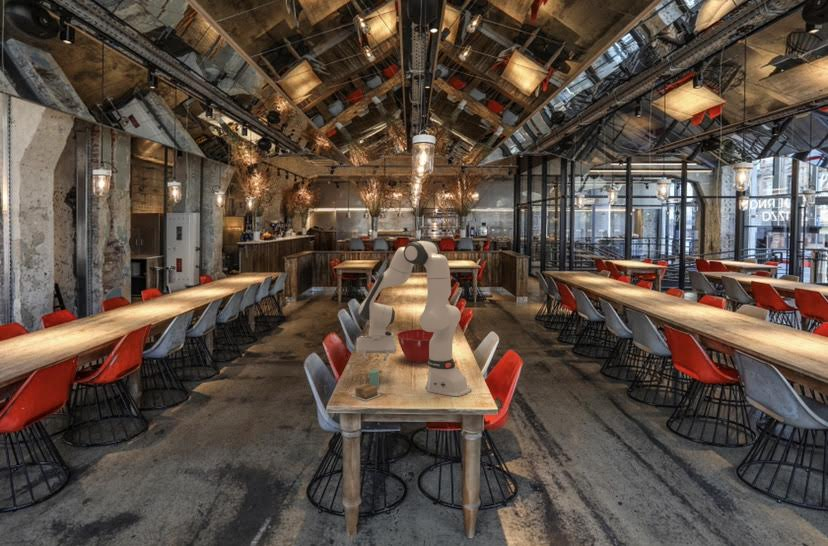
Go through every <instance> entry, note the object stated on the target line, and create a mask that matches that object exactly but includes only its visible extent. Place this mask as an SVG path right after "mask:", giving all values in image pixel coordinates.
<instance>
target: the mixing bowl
mask: <svg viewBox="0 0 828 546" xmlns="http://www.w3.org/2000/svg"><path fill="white" fill-rule="evenodd" d="M433 334H434V332H427V331H425V330H423V329H422V328H417V329H408V330H403V331H399V332H398V333H397V334H396V336H397V339H398V343H399V346H400V349H401V351H402V353H403V354H404V357H405V358H406V359H407V360H408V361H410V362H412V363H416V364H428V358H429V342H430V340H431V338H432V336H433Z"/></svg>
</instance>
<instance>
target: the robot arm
mask: <svg viewBox="0 0 828 546" xmlns="http://www.w3.org/2000/svg"><path fill="white" fill-rule="evenodd" d="M414 266H418V267H423V266H424V268H425V270H426V286H427V288H426V289H427V296H426V303H425V306H424V310H423V312H422V313H421V315H420V317H419V324H420V327H421V329H423V330H425V331H427V332H434V334H433V336H432V338H431V340H430V342H429V358H428V363H427V365H428V374H427V380H426V385H425V388H426V392H430V393H434V394H440V395H445V396H450V397H454V398H455V397H461V395H462V396H465V395H467V394H469V393H471V392H472V391H471V390H473V388H472V386H469V385H468V382H467V378H466V376H465V374H463V373H462V372H461V371H460V370H459V369H458V367H456V364H457V363H458V362H457V360H455V361H454V358H453V343H454V342H453V341H454V338H455V333H456V329H457V326H458V324H459V322H460V320H461V317H462V314H461V311H460V310H459V308H458V307H457V306H455V305H449V304H448V300H449V299H450V296H451V295H452V287H451V286H452V285H451V272H450V264H449V261H448V258H447V257H446V256H445V255H443V254H441V250H440V247H439V245H438V244H437V243H435V242H434V241H431V240H430V241H429V240H428V241H426V240H419V241H412V242H409V243H408V244H407V245H405V246H400V247H398V248H397V250H396V251H395V253H394V255H393V257H392V258H391V261H390V264H389V267H388V268H386V270H385V271H384V272H382V273H379V275H378V276H377V278H376V279H375V280H374V282H373V284H372V285H371V288H370V289H369V291H368V293H367V295H366V297H364V299H363V301H362V302H361V303H360V305H359V308H358V312H357V313H358V316H359V317H360V319H361V320H362V321H366V322H367V321H368V322H369V329H368V335H364V336H363V335H360V336H358V337H356V341H355V342H356V345H355V350H356V353H357V354H362V355H363V357H364V361H366V362H367V361H368V359H369V356H368V355H367V354H385V355H383V361H384V362H385V361H387V358H388V357H389V356H390V355H391V354H393V355H394V354H396V353H397V344H396V343H397V342H396V339H395V333H394V332H392V331H388V330H386V329H387V327H390V326H391V325H392V324H393V323H394V322H395V318H396V311H395V309H394V308H393V306H390V305H387V304H382V303H378V302H375V300H376V298H377V297H378V295H379V294H380V292H381V291H382V290H383V289H385V288H390V287H391V288H392V287H399V286H402V285H404V284H406V283H407V281H408V280H409V278H410V276H411V273H412V271H413V267H414ZM470 391H471V392H470Z"/></svg>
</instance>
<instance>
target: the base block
mask: <svg viewBox="0 0 828 546" xmlns="http://www.w3.org/2000/svg"><path fill="white" fill-rule="evenodd" d="M377 393H378V388H377V386H373V385H370V383H363V384H360V385H358V386H355V392H354V394H355V395H356V396H358V397H361V398H364V399H368V398H371V397H373V396H376V395H377Z"/></svg>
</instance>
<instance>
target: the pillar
mask: <svg viewBox="0 0 828 546" xmlns="http://www.w3.org/2000/svg"><path fill="white" fill-rule="evenodd" d="M379 372H380V370H379V369H370V370H369V384H370V385H373V386H377V389H379V387H380V384H379V383H380V373H379Z"/></svg>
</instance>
